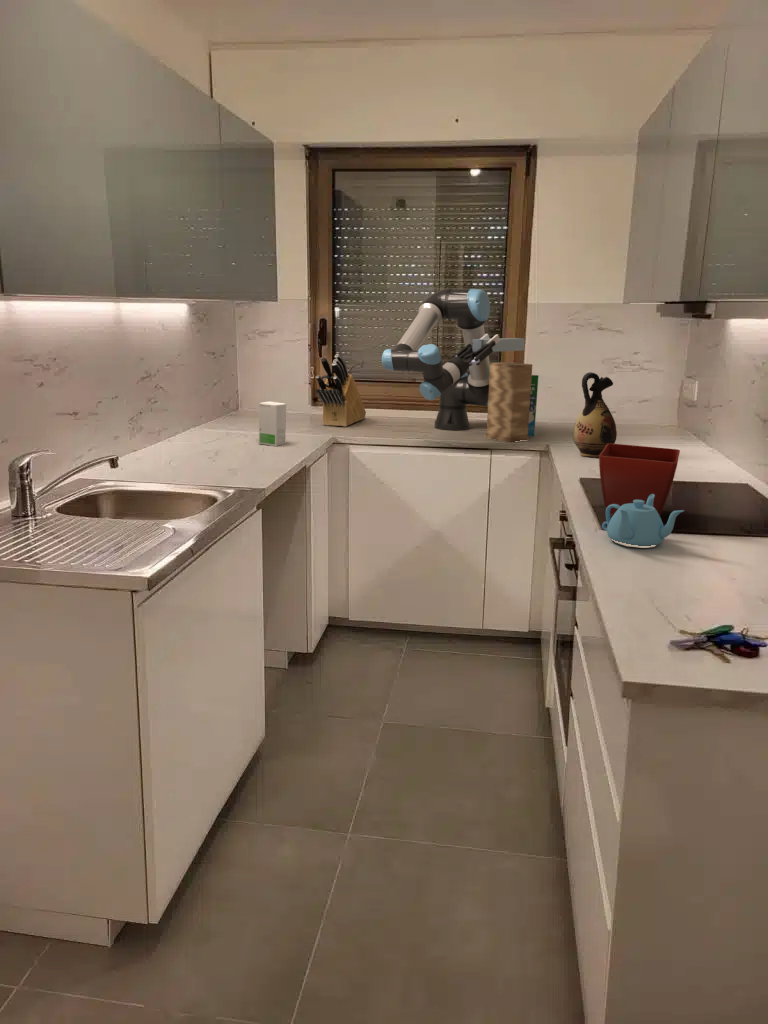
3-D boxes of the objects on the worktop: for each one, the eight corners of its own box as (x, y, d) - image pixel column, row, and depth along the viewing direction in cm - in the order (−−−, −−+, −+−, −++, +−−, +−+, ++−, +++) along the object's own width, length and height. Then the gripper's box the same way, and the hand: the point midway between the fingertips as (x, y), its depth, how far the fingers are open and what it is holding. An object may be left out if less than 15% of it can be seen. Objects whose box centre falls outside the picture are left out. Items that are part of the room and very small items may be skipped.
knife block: (313, 429, 337) (313, 354, 329) (343, 417, 369) (343, 349, 361) (338, 430, 333) (338, 355, 325) (366, 419, 366) (367, 350, 358)
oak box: (485, 437, 324) (489, 362, 316) (503, 435, 330) (507, 361, 322) (510, 443, 314) (515, 365, 306) (528, 440, 320) (533, 364, 312)
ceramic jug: (597, 450, 302) (604, 370, 295) (623, 458, 289) (631, 374, 281) (558, 452, 296) (565, 370, 289) (583, 460, 283) (590, 375, 275)
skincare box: (258, 444, 301) (257, 402, 297) (268, 441, 306) (268, 400, 302) (276, 446, 297) (276, 404, 293) (287, 443, 303) (286, 402, 299)
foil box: (472, 351, 301) (472, 338, 300) (515, 349, 316) (515, 337, 315) (480, 352, 298) (481, 339, 297) (524, 350, 313) (524, 338, 312)
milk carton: (532, 432, 339) (536, 372, 332) (534, 436, 330) (538, 375, 324) (510, 431, 340) (514, 372, 333) (512, 435, 331) (515, 374, 324)
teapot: (594, 533, 196) (597, 493, 193) (652, 532, 198) (657, 492, 195) (617, 552, 182) (621, 509, 179) (680, 551, 184) (685, 508, 181)
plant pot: (669, 527, 203) (677, 462, 198) (592, 518, 209) (598, 455, 205) (673, 509, 220) (680, 449, 215) (601, 501, 227) (607, 443, 222)
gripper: (440, 377, 303) (479, 344, 312) (473, 381, 290) (513, 347, 299) (433, 359, 299) (473, 327, 308) (467, 363, 286) (507, 329, 295)
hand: (493, 337), depth 304 cm, fingers closed on foil box, 4 cm apart
